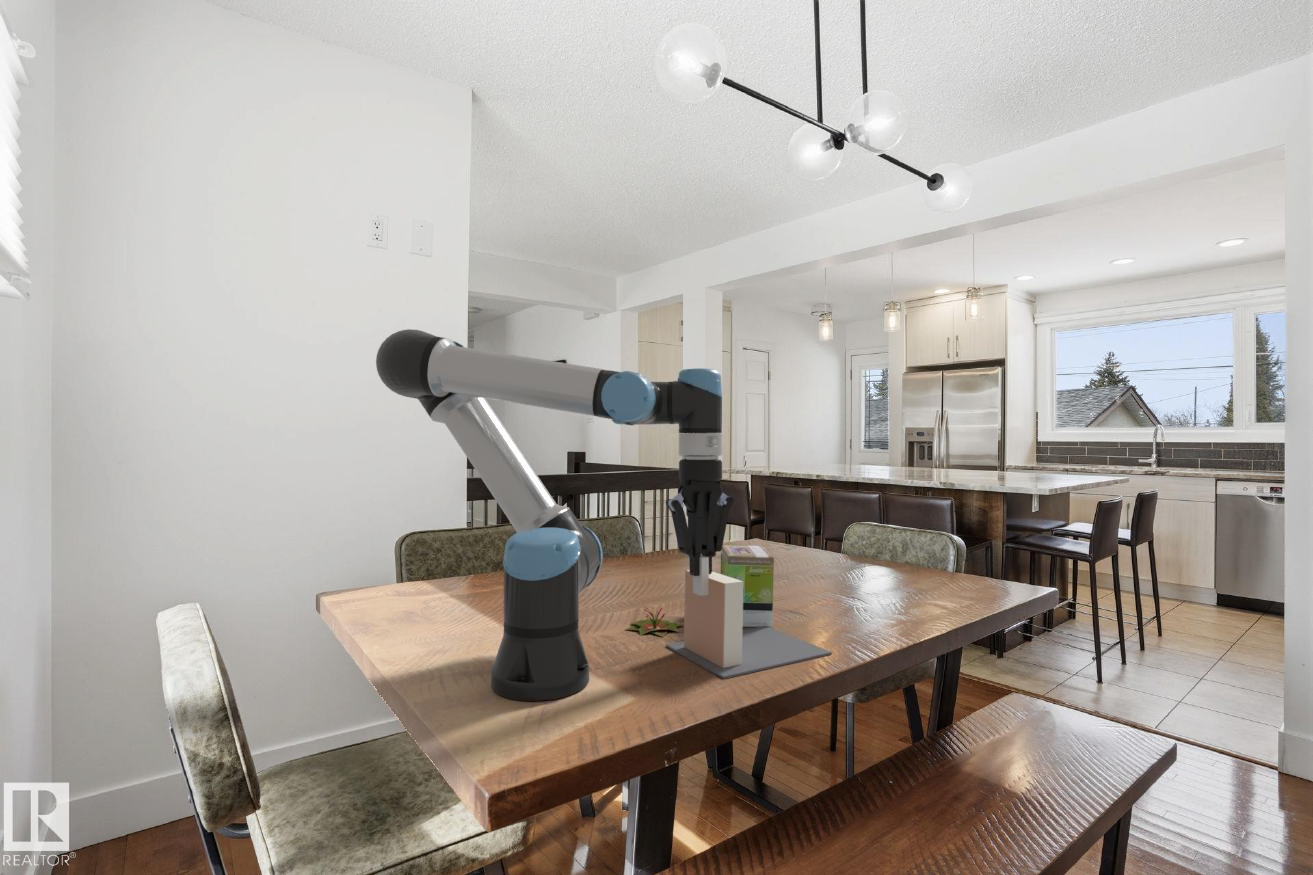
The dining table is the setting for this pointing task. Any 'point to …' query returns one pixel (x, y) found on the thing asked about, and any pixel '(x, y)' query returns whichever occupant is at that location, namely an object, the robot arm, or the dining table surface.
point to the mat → (758, 652)
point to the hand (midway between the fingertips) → (700, 593)
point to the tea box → (752, 581)
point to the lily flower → (654, 624)
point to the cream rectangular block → (715, 620)
